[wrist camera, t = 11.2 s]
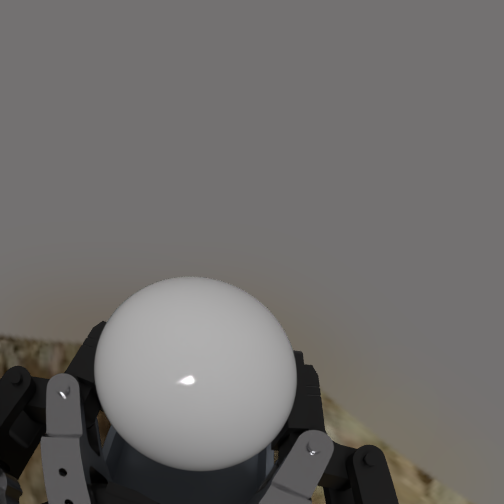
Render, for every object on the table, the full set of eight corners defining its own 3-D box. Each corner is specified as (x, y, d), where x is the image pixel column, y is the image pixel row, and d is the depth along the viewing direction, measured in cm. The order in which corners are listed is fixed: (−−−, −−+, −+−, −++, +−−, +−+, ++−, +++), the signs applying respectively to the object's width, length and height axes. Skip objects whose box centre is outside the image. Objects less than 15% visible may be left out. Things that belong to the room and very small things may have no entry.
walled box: (103, 494, 8) (89, 486, 7) (140, 385, 16) (135, 364, 15) (259, 527, 9) (271, 526, 7) (265, 411, 16) (274, 393, 15)
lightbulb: (259, 424, 14) (329, 273, 9) (231, 515, 8) (322, 463, 3) (160, 389, 15) (156, 223, 10) (114, 468, 9) (19, 326, 4)
